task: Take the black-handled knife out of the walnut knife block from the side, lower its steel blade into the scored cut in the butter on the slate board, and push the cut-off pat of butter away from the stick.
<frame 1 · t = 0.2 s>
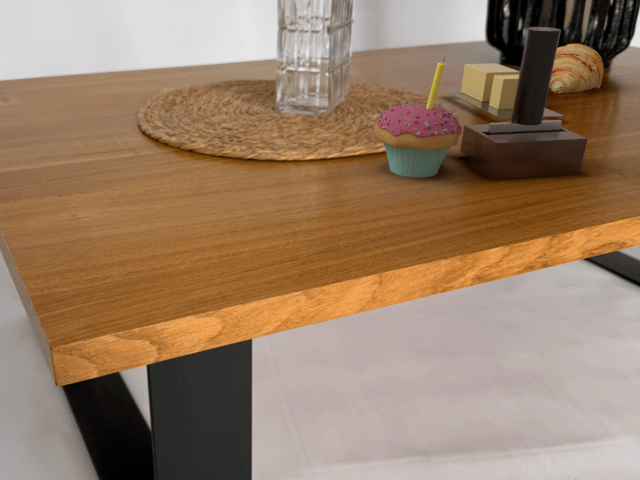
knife: (529, 102, 70), in the knife block
croissant: (564, 89, 110), on the table
knife block: (516, 168, 73), on the table
butter board: (500, 111, 95), on the table
butter pat: (510, 106, 93), point 1 cm above the table, touching butter board
cupcake: (411, 174, 71), on the table
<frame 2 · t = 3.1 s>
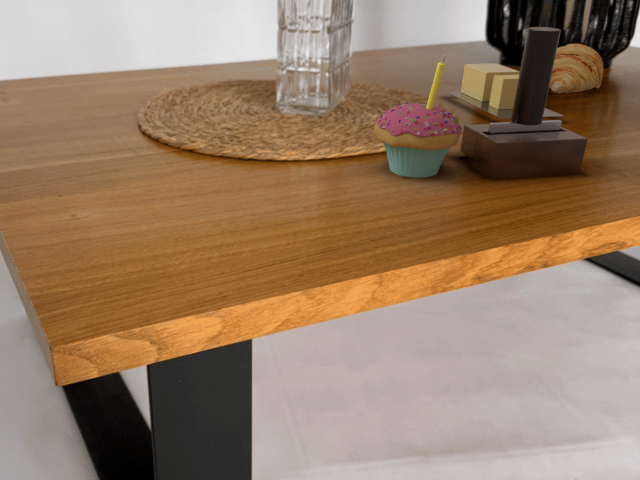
nothing on the table moved.
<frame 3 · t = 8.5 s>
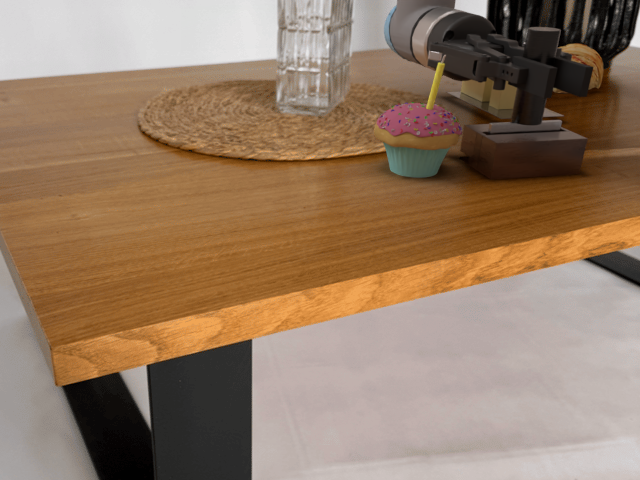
hand: (568, 82, 64), 10 cm above the table, tool horizontal, fingers closed on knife, 3 cm apart
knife: (530, 102, 70), in the knife block, touching gripper
everything else where it was.
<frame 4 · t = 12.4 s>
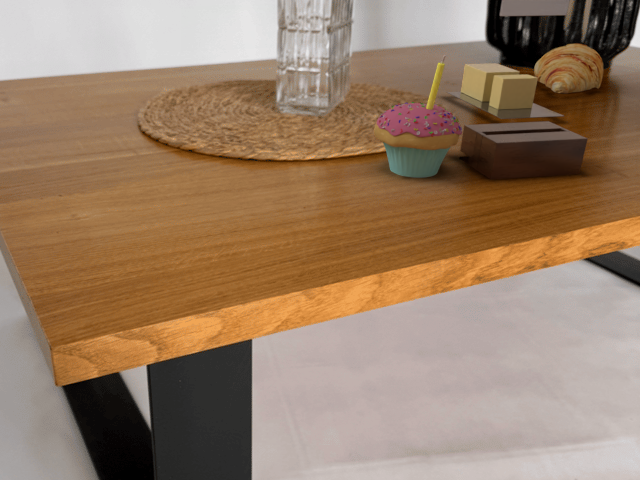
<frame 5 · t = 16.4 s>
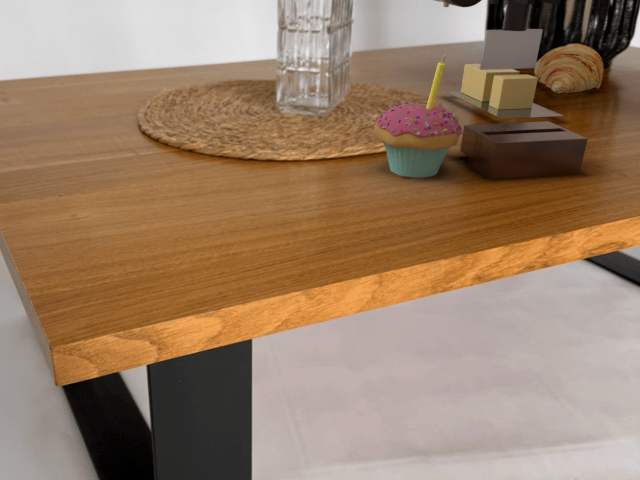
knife: (517, 13, 89), point 13 cm above the table, touching gripper
everything else where it was.
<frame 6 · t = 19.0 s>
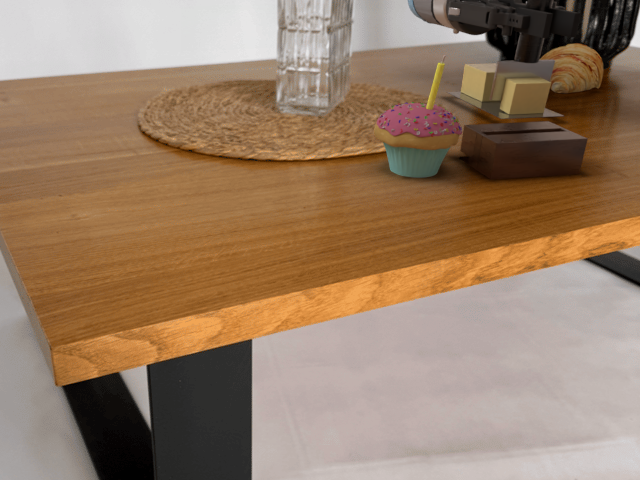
hand: (561, 25, 81), 12 cm above the table, tool horizontal, fingers closed on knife, 3 cm apart
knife: (530, 44, 87), point 10 cm above the table, touching butter pat, gripper
butter pat: (521, 111, 91), point 1 cm above the table, touching butter board, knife
everything else where it was.
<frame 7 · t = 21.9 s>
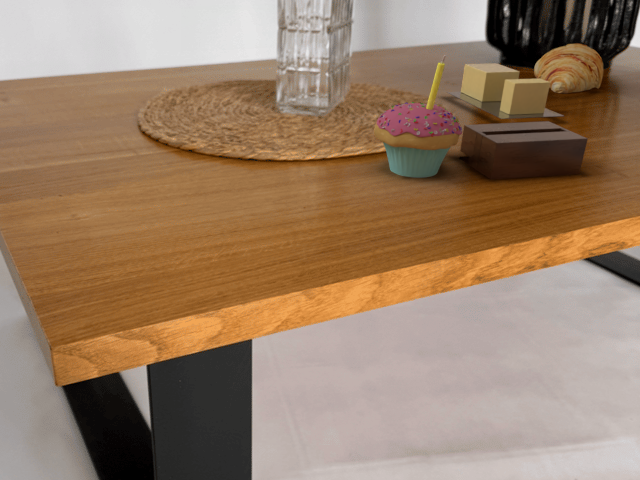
butter pat: (521, 111, 91), point 1 cm above the table, touching butter board
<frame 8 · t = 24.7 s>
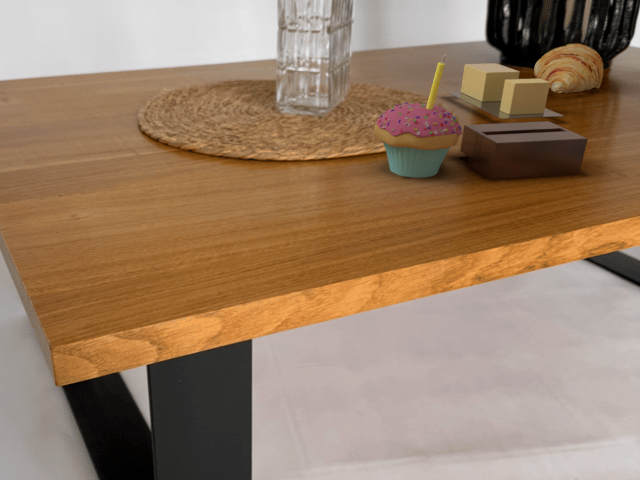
at the end: butter pat moved 2.9 cm from its start; butter pat 2.4 cm from the target spot on the butter board, point 1.2 cm above the butter board's base; the gripper is holding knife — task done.
